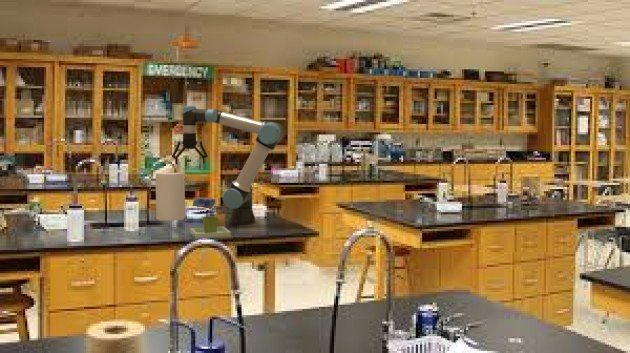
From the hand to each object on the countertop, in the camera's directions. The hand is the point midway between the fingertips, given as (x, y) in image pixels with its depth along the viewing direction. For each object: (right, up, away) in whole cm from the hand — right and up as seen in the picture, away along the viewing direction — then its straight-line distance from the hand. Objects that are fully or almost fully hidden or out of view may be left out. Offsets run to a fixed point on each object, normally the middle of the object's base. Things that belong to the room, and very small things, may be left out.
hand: (190, 169), depth 396 cm
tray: (+17, -35, -32) cm, 50 cm away
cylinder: (-16, -30, +25) cm, 42 cm away
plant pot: (+17, -34, -32) cm, 50 cm away
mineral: (+1, -27, +50) cm, 57 cm away
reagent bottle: (+19, -33, -16) cm, 42 cm away
